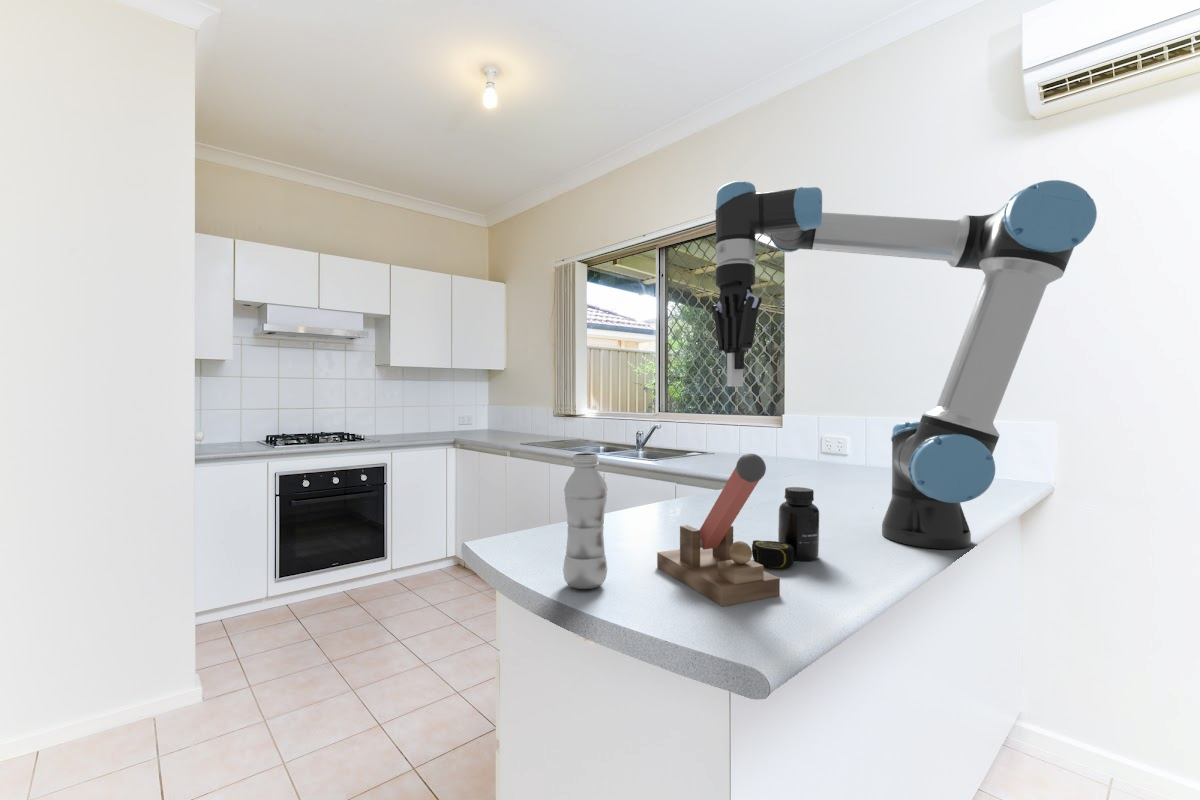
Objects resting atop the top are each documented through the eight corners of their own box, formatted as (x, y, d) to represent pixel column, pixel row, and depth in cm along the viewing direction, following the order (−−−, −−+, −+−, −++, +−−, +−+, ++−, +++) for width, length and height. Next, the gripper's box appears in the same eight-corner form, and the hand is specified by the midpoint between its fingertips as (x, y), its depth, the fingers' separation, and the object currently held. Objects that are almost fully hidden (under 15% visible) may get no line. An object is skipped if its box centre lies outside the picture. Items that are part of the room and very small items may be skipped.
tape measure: (792, 561, 94) (792, 540, 94) (795, 574, 88) (795, 551, 87) (751, 558, 96) (751, 537, 96) (751, 570, 89) (751, 547, 89)
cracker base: (657, 567, 90) (657, 519, 90) (707, 559, 94) (707, 514, 94) (722, 606, 74) (722, 548, 74) (779, 595, 78) (779, 540, 78)
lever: (688, 535, 87) (738, 448, 75) (709, 533, 89) (761, 447, 77) (699, 556, 84) (752, 469, 72) (720, 553, 86) (776, 467, 74)
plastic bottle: (558, 581, 84) (558, 452, 83) (600, 577, 86) (600, 451, 85) (569, 596, 77) (568, 457, 77) (613, 591, 80) (613, 455, 79)
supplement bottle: (812, 564, 92) (812, 494, 92) (772, 556, 96) (772, 489, 96) (823, 554, 97) (824, 488, 97) (786, 548, 101) (786, 484, 101)
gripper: (700, 271, 110) (700, 386, 111) (740, 256, 98) (740, 386, 99) (730, 274, 113) (730, 386, 114) (773, 260, 101) (773, 386, 102)
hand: (735, 386), depth 106 cm, fingers closed
